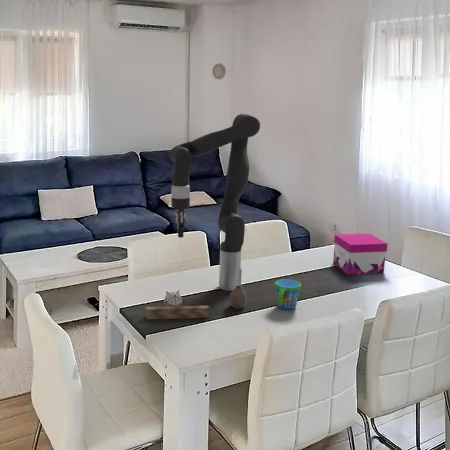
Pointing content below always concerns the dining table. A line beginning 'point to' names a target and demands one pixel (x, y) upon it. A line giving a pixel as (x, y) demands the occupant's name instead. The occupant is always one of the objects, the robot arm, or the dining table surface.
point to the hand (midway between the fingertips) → (180, 236)
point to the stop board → (177, 312)
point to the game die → (173, 299)
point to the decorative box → (359, 253)
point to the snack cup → (287, 293)
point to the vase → (238, 298)
